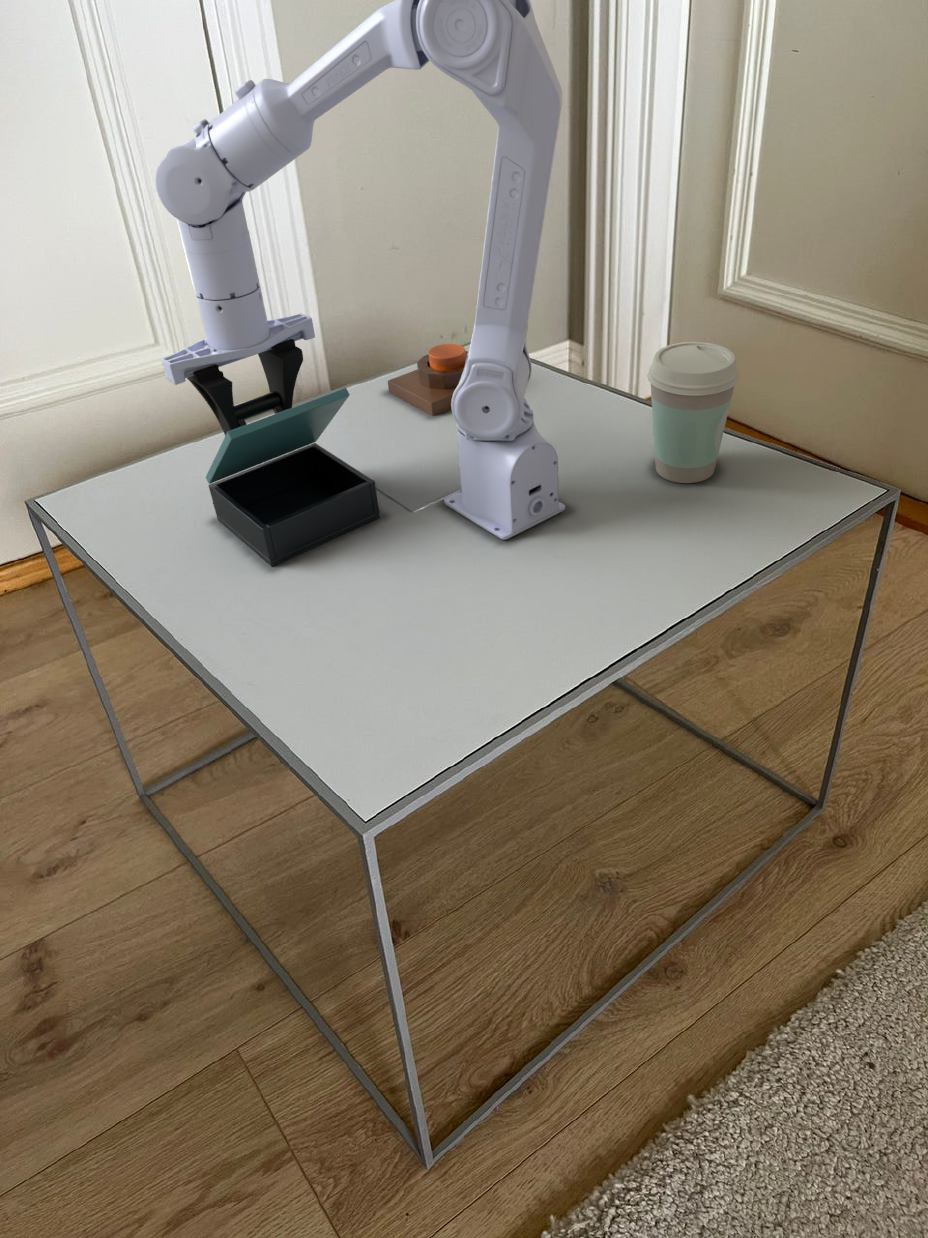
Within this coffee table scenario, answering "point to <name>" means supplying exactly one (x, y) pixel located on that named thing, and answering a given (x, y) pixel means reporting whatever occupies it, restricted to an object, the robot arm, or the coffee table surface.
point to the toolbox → (272, 431)
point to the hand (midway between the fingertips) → (259, 429)
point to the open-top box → (294, 502)
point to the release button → (447, 357)
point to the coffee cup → (690, 407)
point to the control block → (427, 387)
